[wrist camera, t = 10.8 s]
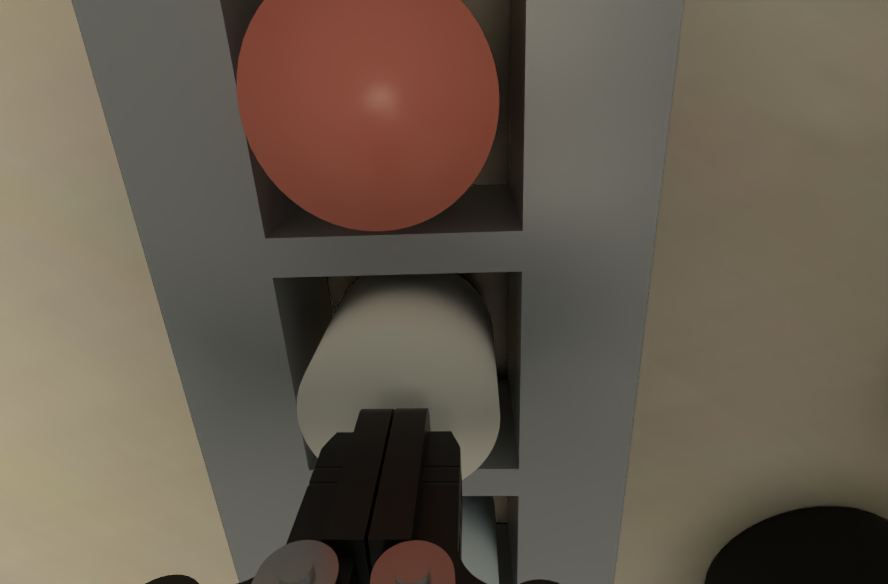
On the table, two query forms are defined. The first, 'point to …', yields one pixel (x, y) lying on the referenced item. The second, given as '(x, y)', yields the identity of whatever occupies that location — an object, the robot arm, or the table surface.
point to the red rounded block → (368, 106)
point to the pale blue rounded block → (480, 538)
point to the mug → (807, 550)
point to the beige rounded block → (406, 361)
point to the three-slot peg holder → (407, 262)
